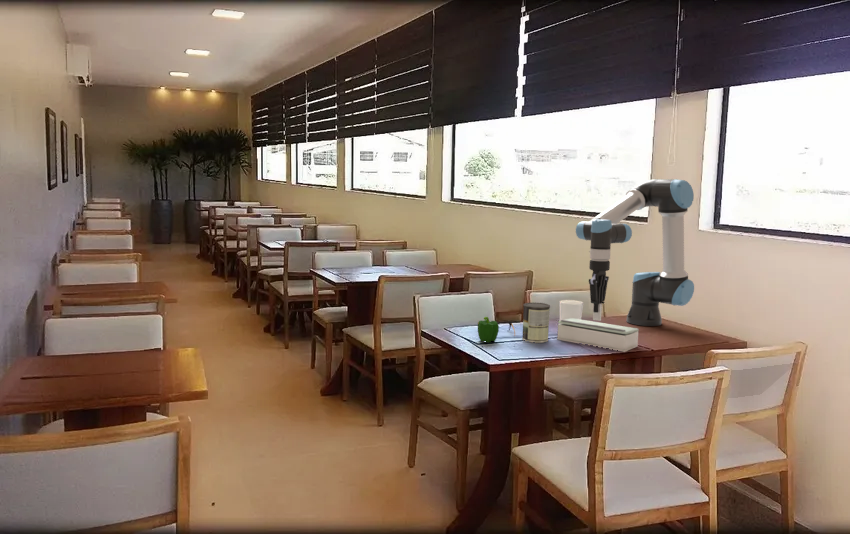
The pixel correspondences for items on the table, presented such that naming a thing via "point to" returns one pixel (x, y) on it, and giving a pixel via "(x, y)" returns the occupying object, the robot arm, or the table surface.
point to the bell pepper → (488, 330)
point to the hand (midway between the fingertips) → (596, 320)
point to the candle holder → (570, 309)
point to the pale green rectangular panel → (598, 326)
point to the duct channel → (598, 337)
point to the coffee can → (536, 322)
